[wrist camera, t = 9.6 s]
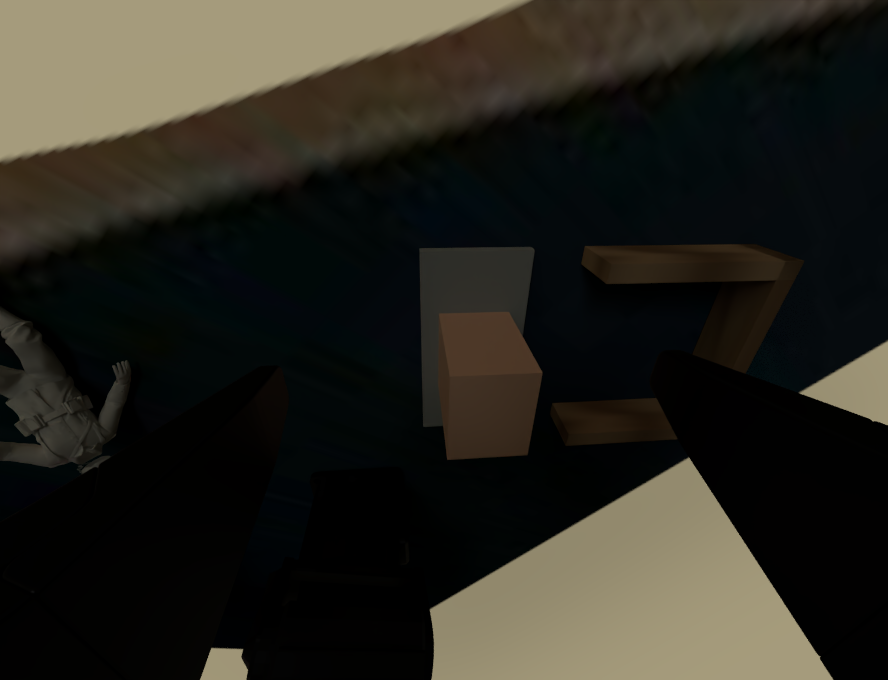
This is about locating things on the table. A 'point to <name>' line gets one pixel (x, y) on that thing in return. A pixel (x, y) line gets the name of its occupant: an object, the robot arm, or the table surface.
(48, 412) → the soldier figure
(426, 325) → the grey mat
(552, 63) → the table surface
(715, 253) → the u-shaped block
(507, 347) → the terracotta block
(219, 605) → the robot arm
